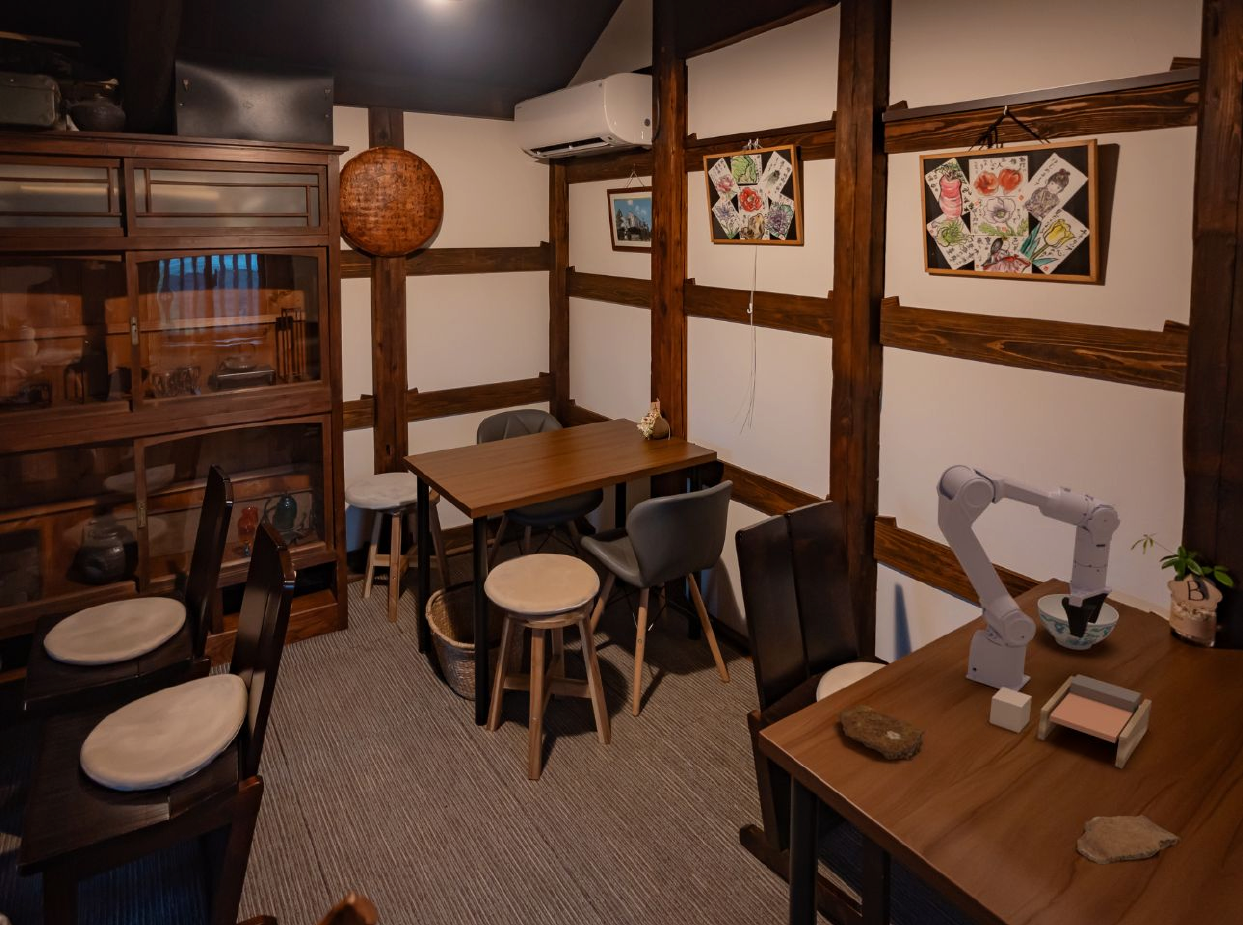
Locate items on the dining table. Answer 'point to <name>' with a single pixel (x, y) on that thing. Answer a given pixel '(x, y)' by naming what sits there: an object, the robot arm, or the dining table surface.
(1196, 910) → the dining table surface
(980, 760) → the dining table surface
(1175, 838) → the pottery shard
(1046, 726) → the frame
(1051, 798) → the dining table surface
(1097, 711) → the trapdoor
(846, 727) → the decorative rock
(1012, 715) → the beige cube
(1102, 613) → the chinaware
